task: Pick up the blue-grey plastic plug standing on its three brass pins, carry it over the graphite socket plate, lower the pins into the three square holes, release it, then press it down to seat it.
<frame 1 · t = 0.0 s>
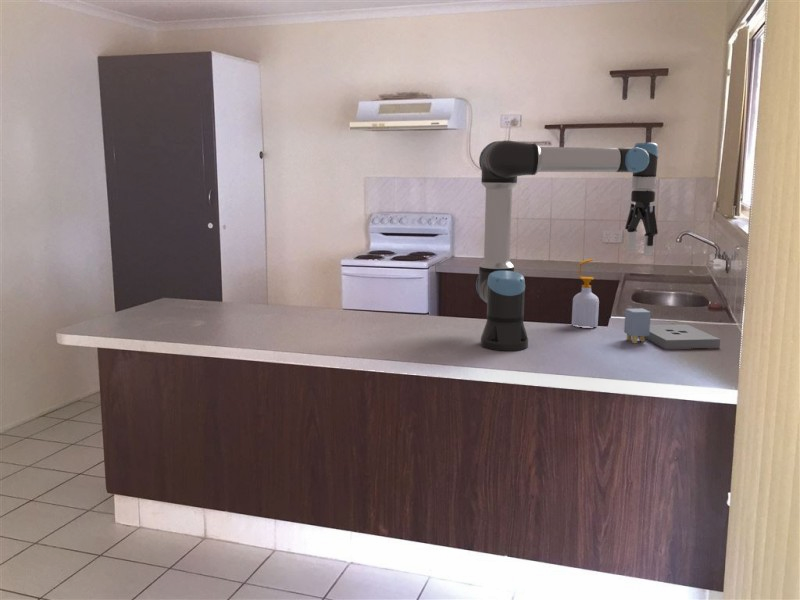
hand: (639, 253, 249), 28 cm above the worktop, fingers open, 13 cm apart
plug: (635, 341, 243), on the worktop
soap bottle: (584, 326, 265), on the worktop
socket plate: (676, 340, 244), on the worktop
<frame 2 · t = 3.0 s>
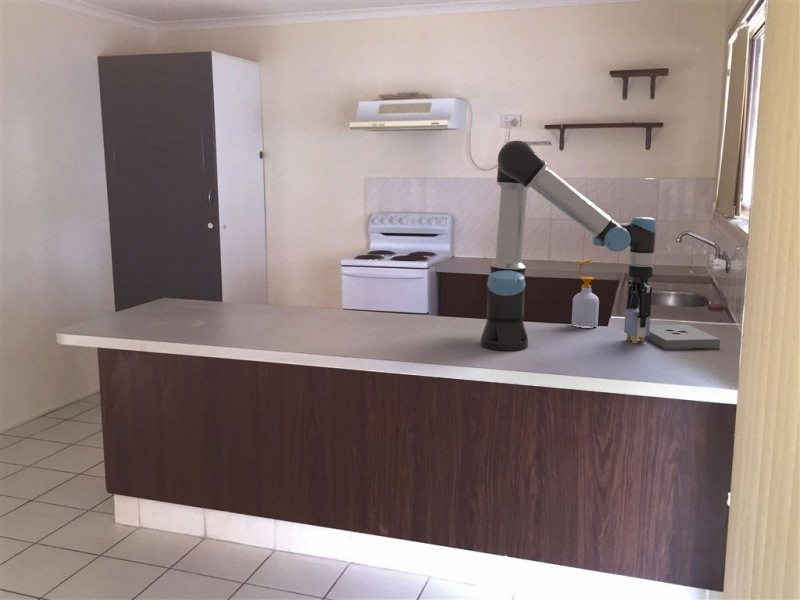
hand: (636, 334, 242), 2 cm above the worktop, fingers closed on plug, 6 cm apart
plug: (635, 341, 243), on the worktop, touching gripper
everything else where it was.
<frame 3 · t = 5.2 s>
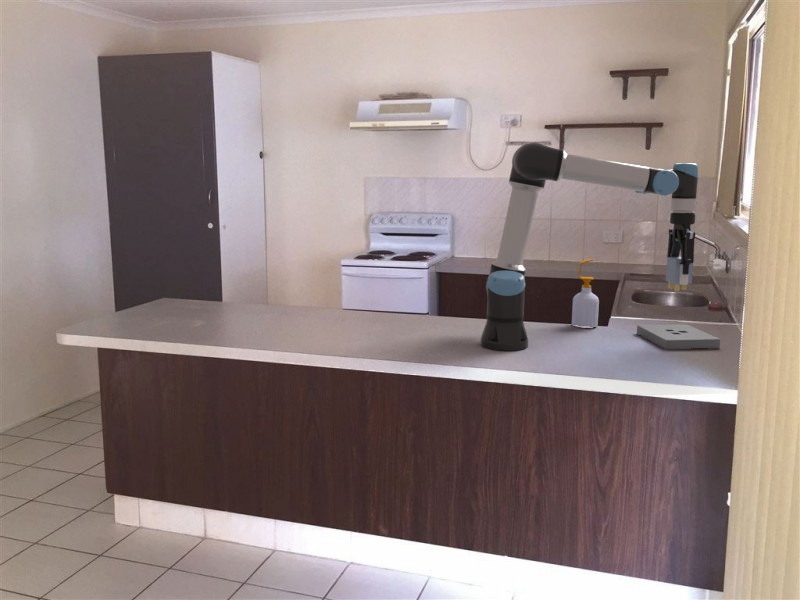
hand: (678, 282, 240), 20 cm above the worktop, fingers closed on plug, 6 cm apart
plug: (678, 289, 241), point 17 cm above the worktop, touching gripper
everything else where it was.
when the fingers open (4 cm above the worktop, at t = 7.8 s): plug drops 1 cm, resting on socket plate.
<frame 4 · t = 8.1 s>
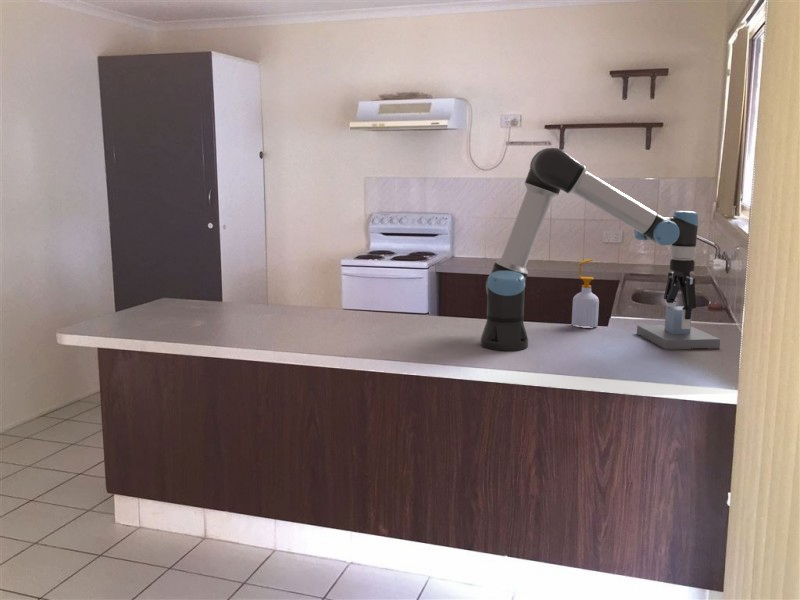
hand: (677, 325, 243), 5 cm above the worktop, fingers open, 10 cm apart
plug: (676, 339, 244), resting on socket plate
everything else where it was.
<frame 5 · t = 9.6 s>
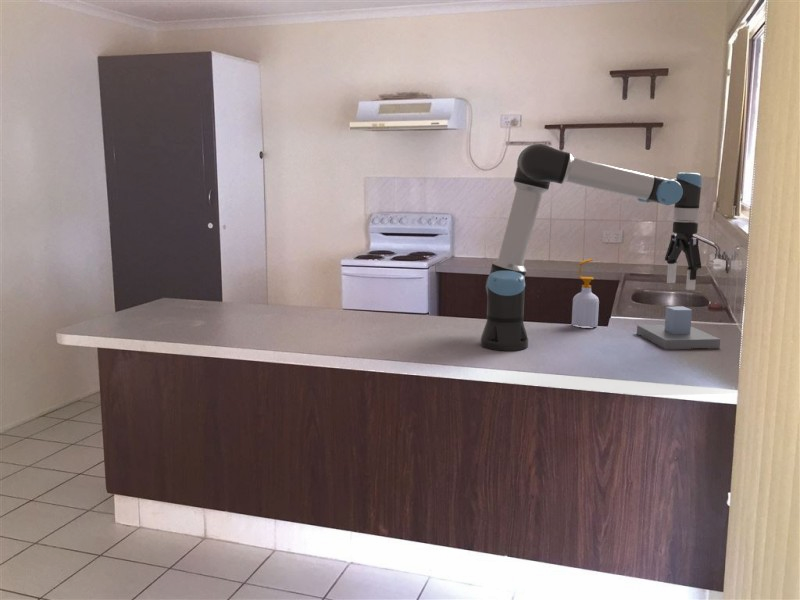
hand: (680, 286, 241), 18 cm above the worktop, fingers open, 13 cm apart
nothing on the worktop moved.
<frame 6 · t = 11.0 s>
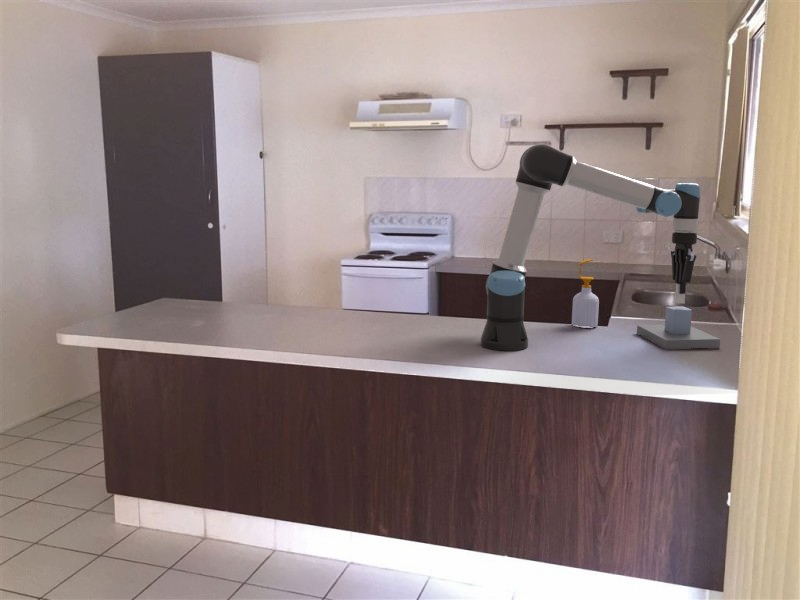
hand: (679, 302, 242), 13 cm above the worktop, fingers closed
nothing on the worktop moved.
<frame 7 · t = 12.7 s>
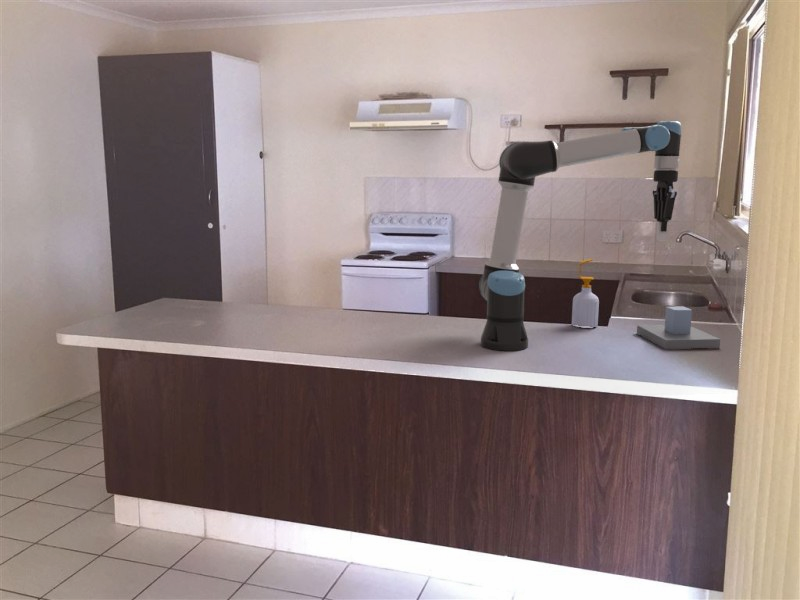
hand: (661, 241, 246), 32 cm above the worktop, fingers closed
nothing on the worktop moved.
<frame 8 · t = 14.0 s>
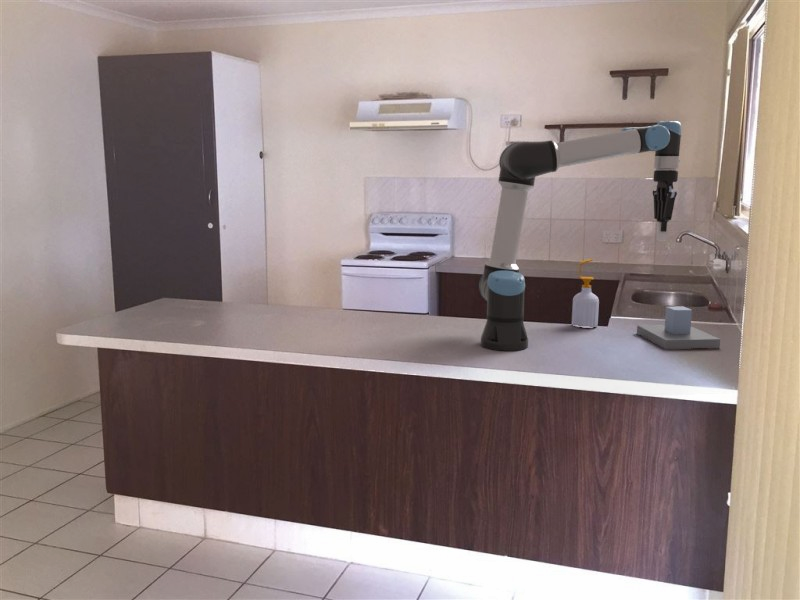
hand: (661, 241, 246), 32 cm above the worktop, fingers closed
nothing on the worktop moved.
at the end: plug 0.0 cm off-centre on the socket plate, point 0.5 cm above the socket plate's base; plug tilted 0°; the gripper is holding nothing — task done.
